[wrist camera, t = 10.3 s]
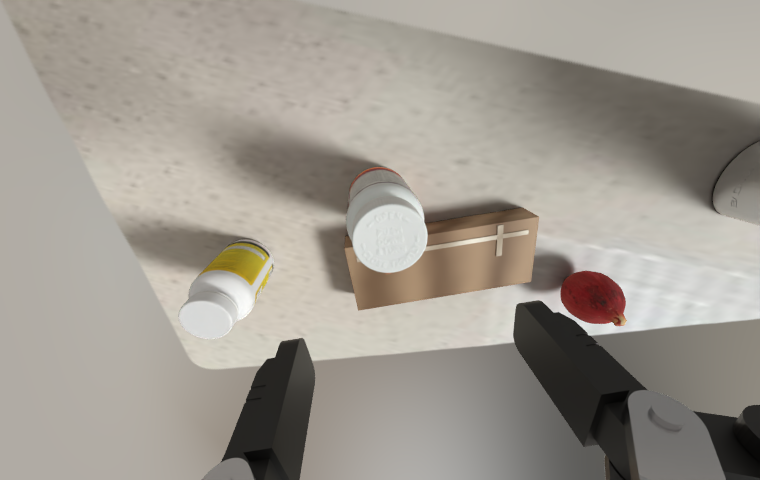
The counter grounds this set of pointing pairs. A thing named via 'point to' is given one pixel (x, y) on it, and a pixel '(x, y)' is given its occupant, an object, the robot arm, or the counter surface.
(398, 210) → the pill bottle
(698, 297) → the counter surface
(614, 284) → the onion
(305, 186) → the counter surface
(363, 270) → the brown banded box
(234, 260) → the supplement bottle
